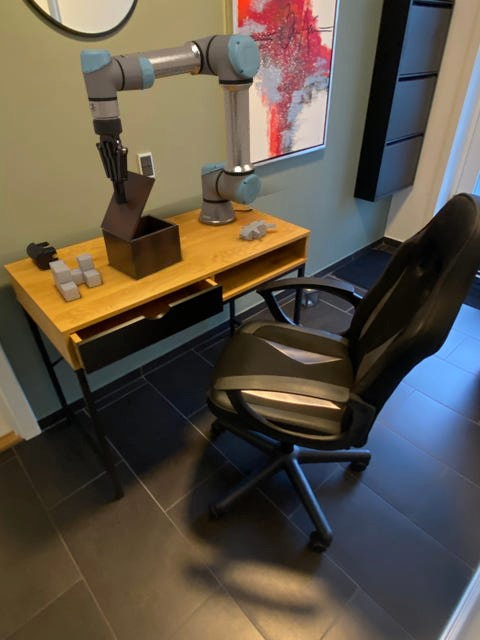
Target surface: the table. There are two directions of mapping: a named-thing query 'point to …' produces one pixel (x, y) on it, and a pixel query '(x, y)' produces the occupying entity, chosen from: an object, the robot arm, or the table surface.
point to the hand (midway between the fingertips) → (121, 203)
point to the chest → (144, 247)
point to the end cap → (42, 254)
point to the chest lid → (128, 206)
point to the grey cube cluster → (75, 276)
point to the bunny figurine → (255, 230)
